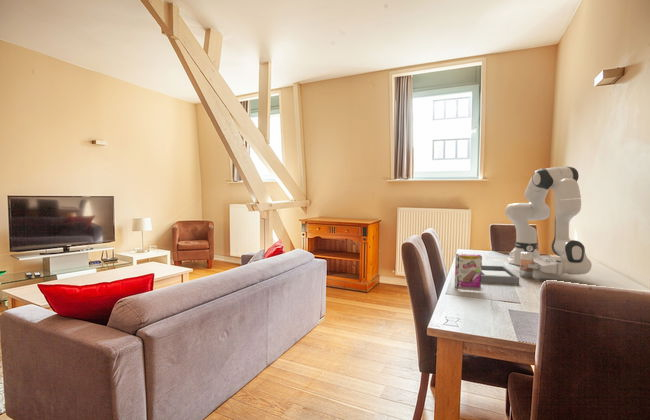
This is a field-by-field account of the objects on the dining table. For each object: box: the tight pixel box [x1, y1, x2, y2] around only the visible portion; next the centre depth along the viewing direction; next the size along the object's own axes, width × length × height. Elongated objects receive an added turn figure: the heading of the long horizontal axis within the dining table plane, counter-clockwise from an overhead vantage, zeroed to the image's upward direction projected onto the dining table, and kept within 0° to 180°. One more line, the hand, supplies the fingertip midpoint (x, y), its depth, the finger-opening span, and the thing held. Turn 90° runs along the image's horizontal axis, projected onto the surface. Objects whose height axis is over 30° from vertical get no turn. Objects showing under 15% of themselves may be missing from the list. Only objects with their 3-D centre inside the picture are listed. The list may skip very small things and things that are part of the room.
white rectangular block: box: [481, 270, 511, 277], centre depth 172 cm, size 10×12×4 cm
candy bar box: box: [454, 253, 483, 289], centre depth 161 cm, size 11×5×16 cm, turn 84°
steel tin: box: [519, 251, 534, 279], centre depth 177 cm, size 6×6×14 cm
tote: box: [481, 265, 520, 286], centre depth 177 cm, size 24×18×4 cm
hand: (524, 264), depth 178 cm, fingers open, 6 cm apart
